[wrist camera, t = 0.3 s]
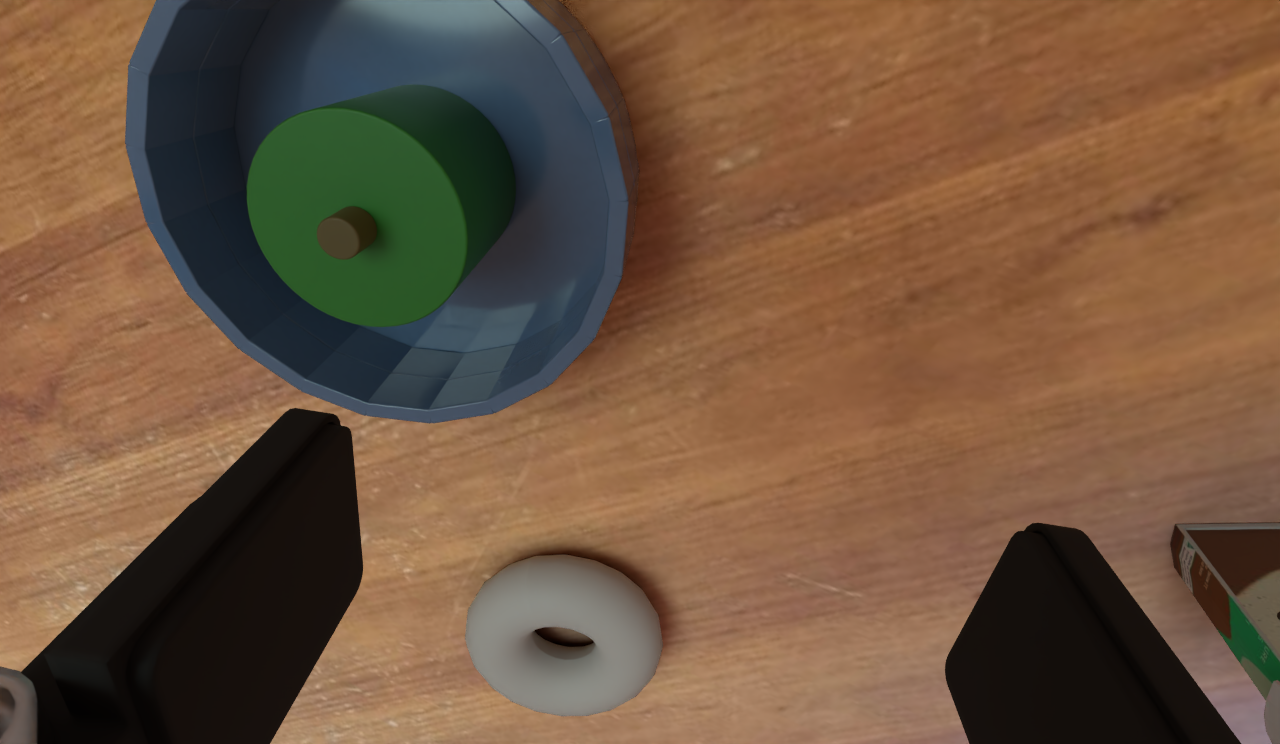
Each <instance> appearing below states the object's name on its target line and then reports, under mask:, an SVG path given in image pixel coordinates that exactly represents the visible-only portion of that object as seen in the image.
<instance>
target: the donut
mask: <svg viewBox="0 0 1280 744" xmlns="http://www.w3.org/2000/svg"><path fill="white" fill-rule="evenodd" d="M543 627H561V628H566V629H572V630H575V631H577V632H580V633H582V634H584V635H586V636H588V637H589V638H591V639H592V640H593V641H594V643H592V644H591V645H587V646H583V647H567V646H562V645H556V644H554V643H552V642H549V641H547V640H544V639H543V638H541V637H540V636H539V635H537V634H536V632H535V631H534V630H536V629H539V628H543ZM465 640H466V644H467V648H468V650H469V653H470V656H471V659H472V661H473V664H474V666H475V668H476V669H477V670H478V671H479V672H480V674H481V675H482V676H483V677H484V678H485V680H486V681H487V682H488V683H489V684H490V686H491V687H492V688H493V689H495V690H496V691H497V692H499V693H500V694H502V695H503V696H505V697H506V698H508V699H509V700H510V701H512V702H514V703H517V704H519V705H521V706H524V707H526V708H529V709H531V710H534V711H537V712H542V713H547V714H553V715H558V716H589V715H593V714H597V713H601V712H605V711H610V710H612V709H614V708H616V707H618V706H620V705H621V704H623V703H625V702H627V701H629V700H631V699H632V698H634V697H636V696H637V695H638V694H639V693H640V691H641V690H642V689H643V688H644V687H645V686H646V685H647V684H648V682H649V681H650V680H651V679H652V677H653V676H654V675H655V672H656V669H657V665H658V662H659V659H660V656H661V652H662V648H663V642H662V635H661V629H660V623H659V616H658V614H657V613H656V611H655V609H654V608H653V606H652V605H651V603H650V601H649V600H648V598H647V597H646V595H645V593H644V592H643V590H642V589H641V588H640V587H639V586H637V585H636V584H635V583H634V582H632V581H631V580H630V579H629V578H628V577H626V576H625V575H624V574H623V573H622V572H619V571H617V570H615V569H613V568H611V567H608V566H606V565H604V564H602V563H600V562H597V561H595V560H591V559H586V558H581V557H575V556H570V555H545V556H534V557H531V558H528V559H524V560H521V561H518V562H515V563H512V564H509V565H508V566H507V567H505V568H504V569H502V570H501V571H500V572H498V573H497V574H496V575H494V576H493V577H491V578H490V579H489V580H487V581H486V582H484V584H483V586H482V587H481V589H480V591H479V592H478V594H477V596H476V597H475V599H474V600H473V602H472V604H471V605H470V607H469V609H468V615H467V623H466V635H465Z"/></svg>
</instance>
